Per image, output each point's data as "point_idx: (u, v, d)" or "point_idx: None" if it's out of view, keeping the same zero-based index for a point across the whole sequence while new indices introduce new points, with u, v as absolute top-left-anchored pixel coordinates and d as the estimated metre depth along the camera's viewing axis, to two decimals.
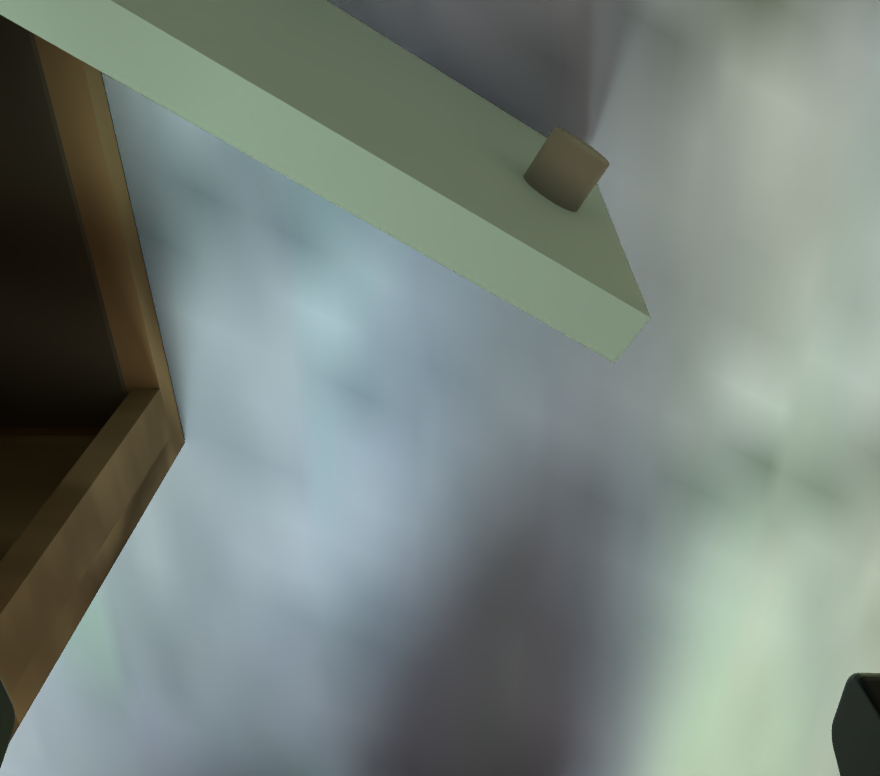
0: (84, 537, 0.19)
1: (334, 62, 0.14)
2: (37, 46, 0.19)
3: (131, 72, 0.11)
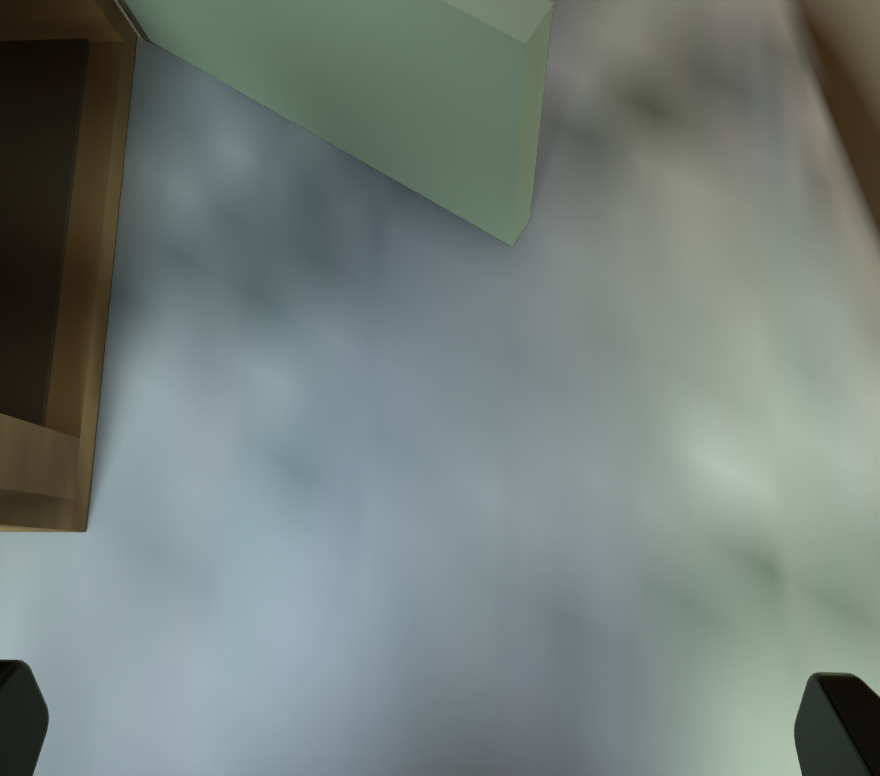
0: None
1: None
2: (80, 124, 0.23)
3: None
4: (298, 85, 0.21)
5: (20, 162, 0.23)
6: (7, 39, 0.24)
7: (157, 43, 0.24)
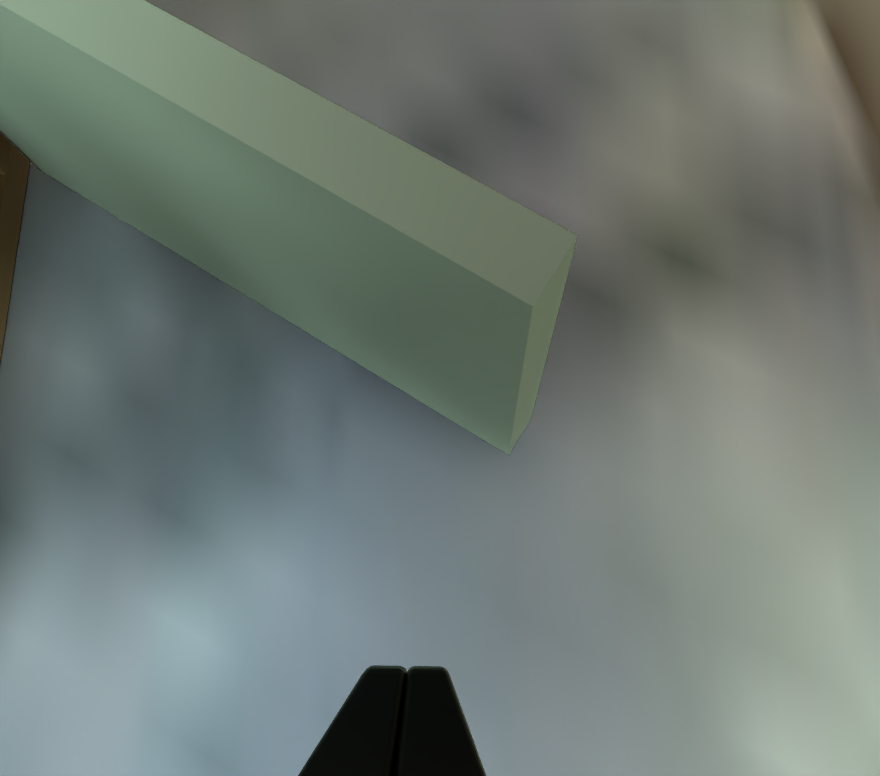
0: None
1: None
2: None
3: None
4: (219, 254, 0.15)
5: None
6: None
7: (51, 176, 0.19)
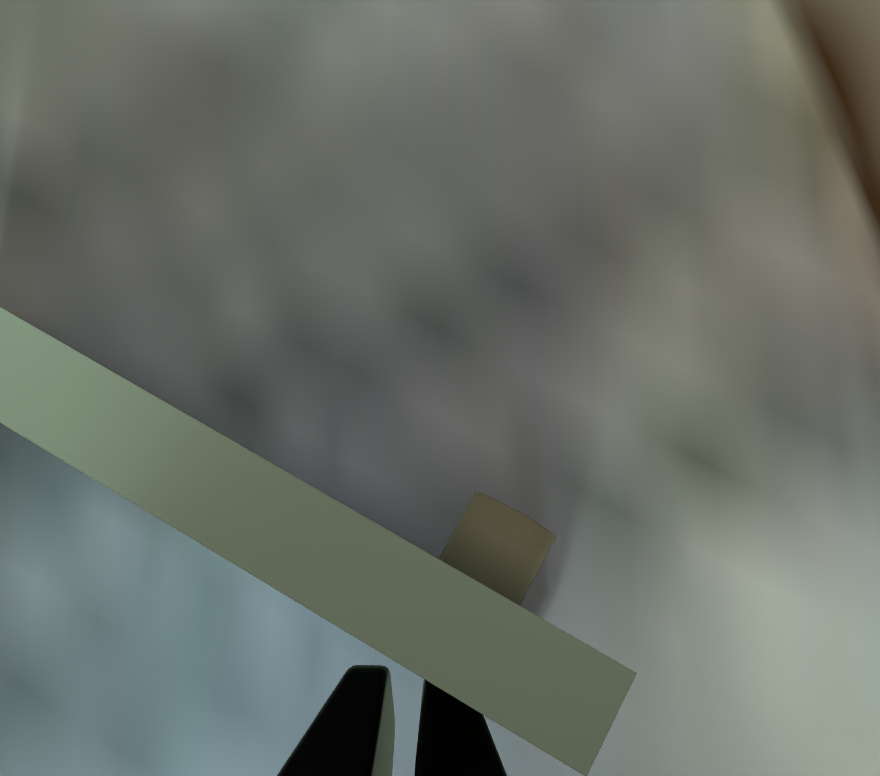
0: None
1: None
2: None
3: None
4: None
5: None
6: None
7: None
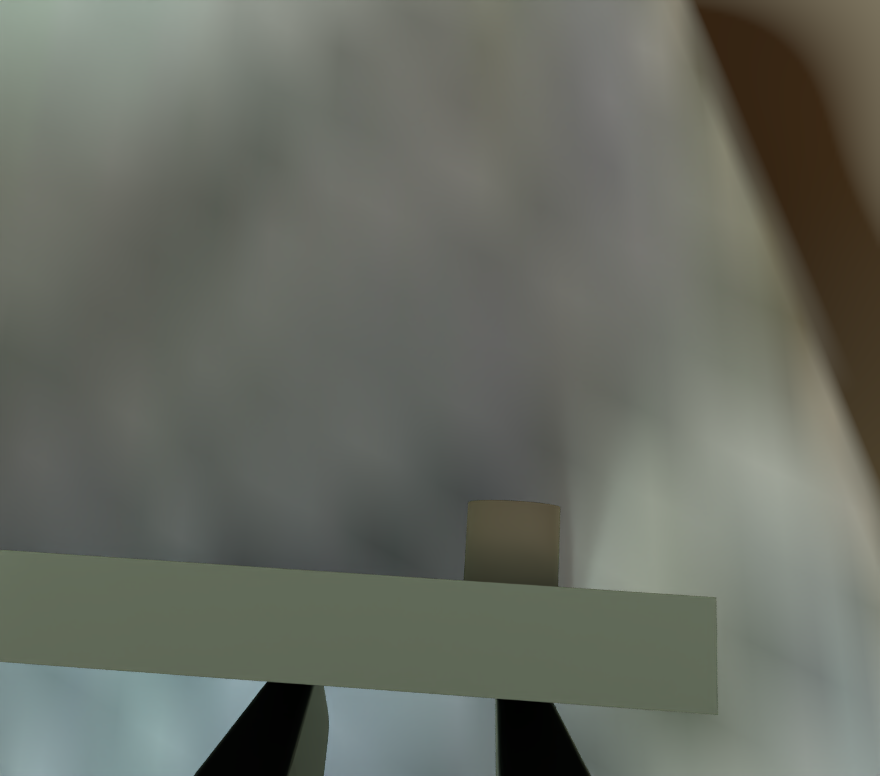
0: None
1: None
2: None
3: None
4: None
5: None
6: None
7: None
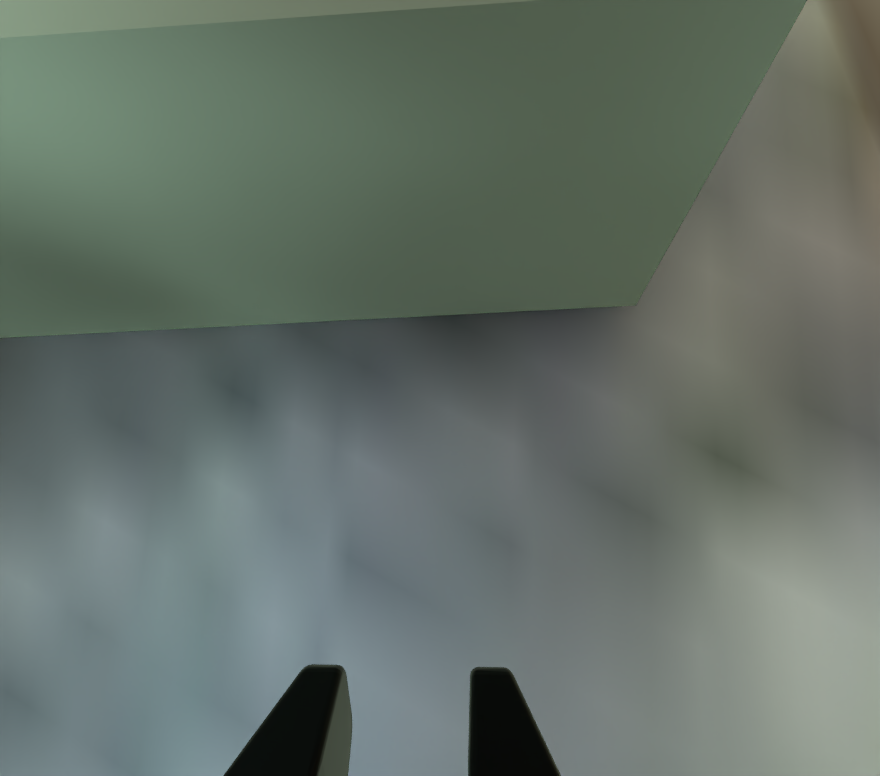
0: None
1: None
2: None
3: None
4: (266, 276, 0.13)
5: None
6: None
7: (7, 335, 0.16)
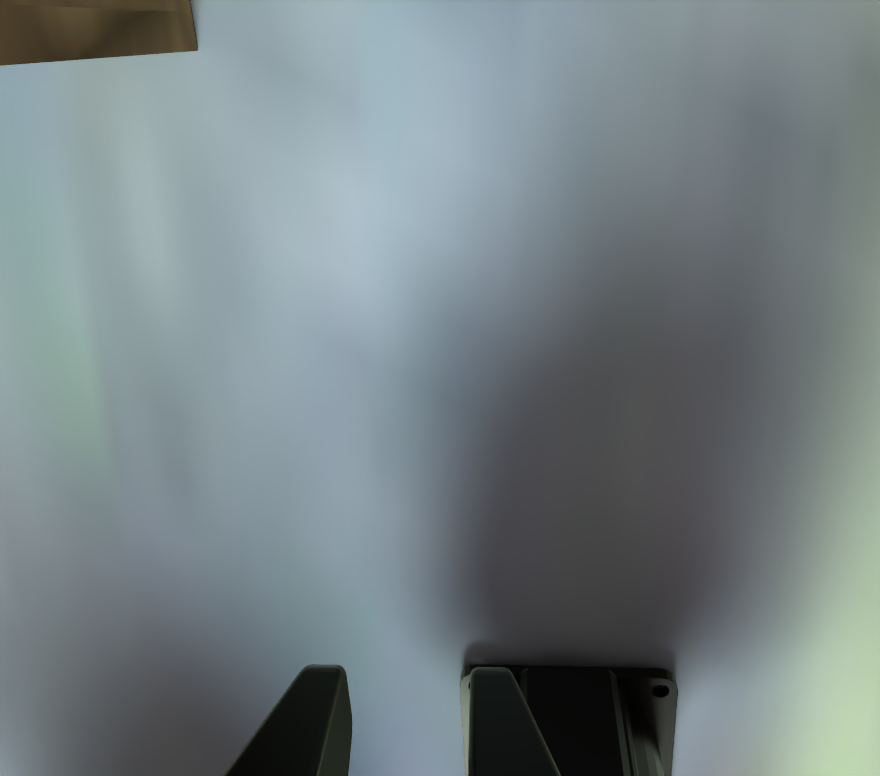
0: None
1: None
2: None
3: None
4: None
5: None
6: None
7: None
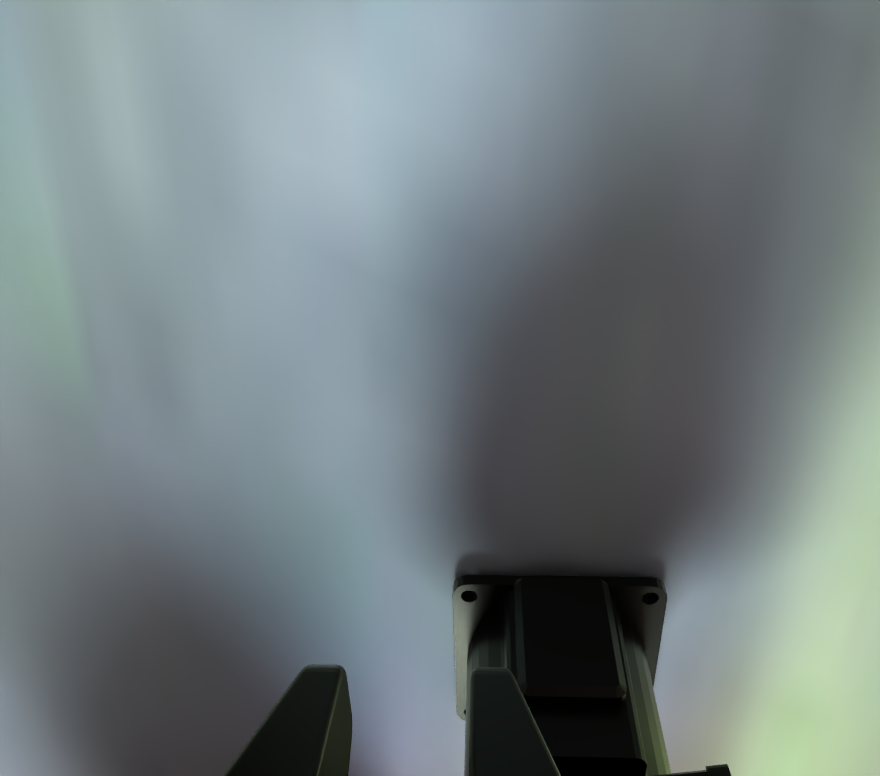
0: None
1: None
2: None
3: None
4: None
5: None
6: None
7: None
